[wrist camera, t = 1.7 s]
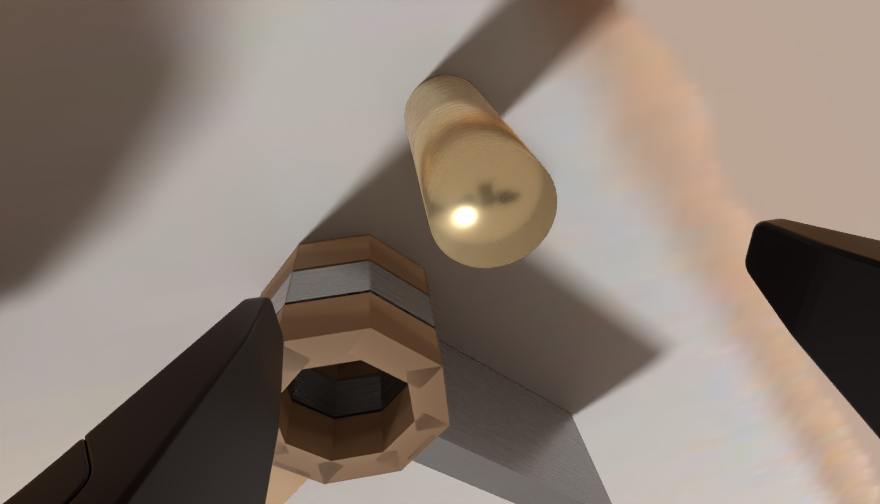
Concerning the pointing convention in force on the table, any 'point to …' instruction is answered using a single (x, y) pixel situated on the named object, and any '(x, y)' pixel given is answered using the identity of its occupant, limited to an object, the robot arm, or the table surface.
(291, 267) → the tan hinge leaf
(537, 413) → the slate leaf
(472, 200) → the brass pin
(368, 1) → the table surface
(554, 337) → the table surface
